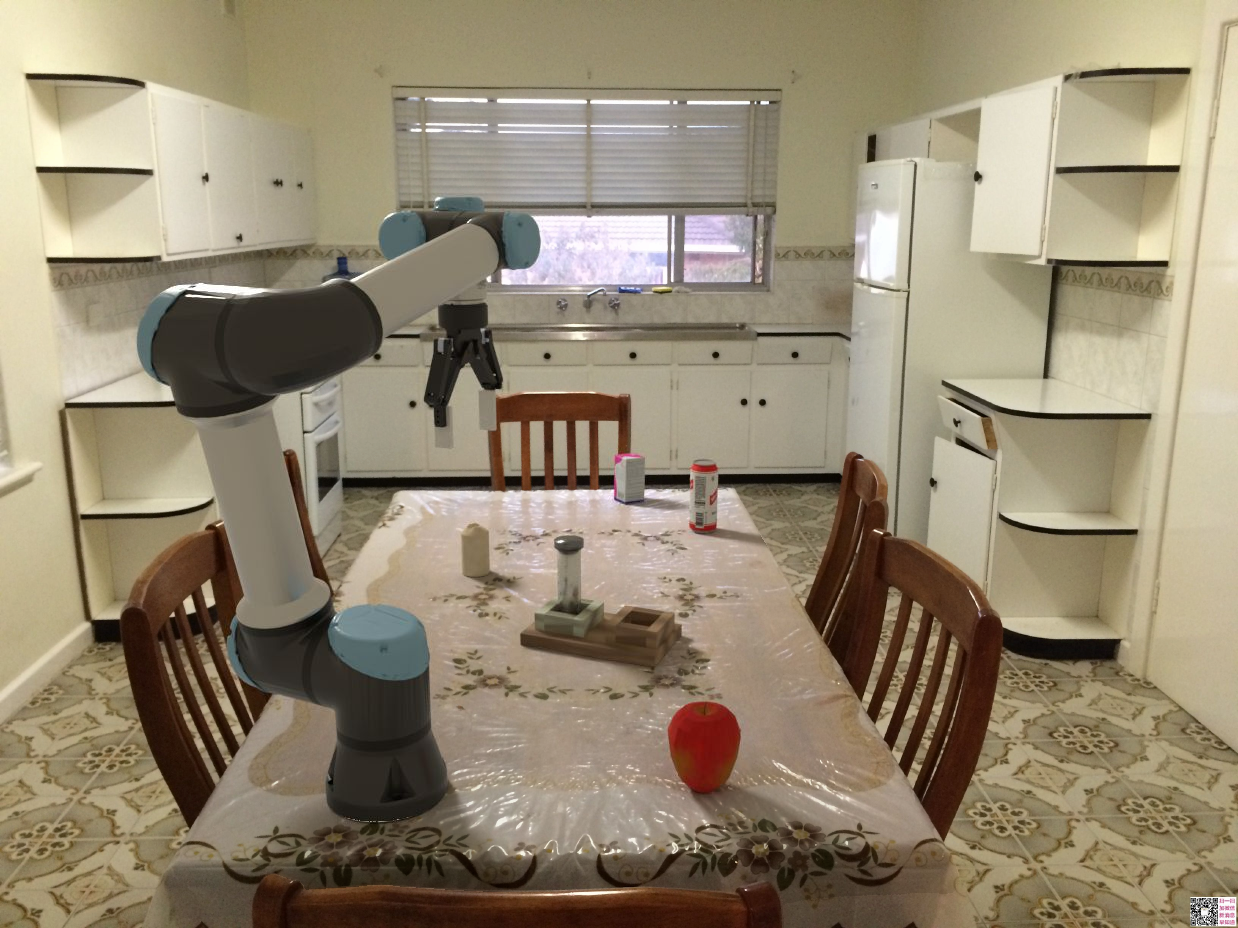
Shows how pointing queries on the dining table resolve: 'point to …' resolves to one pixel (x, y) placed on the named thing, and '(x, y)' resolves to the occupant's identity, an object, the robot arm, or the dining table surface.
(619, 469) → the supplement box
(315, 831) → the dining table surface
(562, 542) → the lock pin
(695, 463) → the beer can
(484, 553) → the candle
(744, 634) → the dining table surface
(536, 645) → the socket board
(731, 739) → the apple
